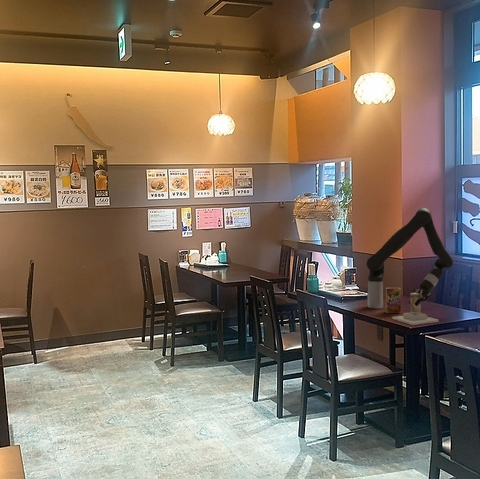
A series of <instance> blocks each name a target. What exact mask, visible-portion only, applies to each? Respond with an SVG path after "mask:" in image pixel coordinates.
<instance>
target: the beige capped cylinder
mask: <svg viewBox="0 0 480 479" xmlns="http://www.w3.org/2000/svg"><path fill="white" fill-rule="evenodd" d="M409 294H410V295H409V299H410V300H409V301H410V304H409V305H410V306H409V307H410V308H409V313H410V312H419V313H422V312H421V311H422V309H421V303H422V302H420V303H419V305H418V306H415V304H414V303H415V302H416V301H417V300H418V298H419V297H420V294H419V293H412V292H411V293H409Z"/></svg>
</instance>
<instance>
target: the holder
mask: <svg viewBox="0 0 480 479" xmlns="http://www.w3.org/2000/svg"><path fill="white" fill-rule="evenodd" d="M391 319H392V320H394V321H398V322H400V323H405V324H407V325H411V326H418V325H425V324H432V323H439V319H437V318H433V317H430V316H428V315H427V314H426V313H422V312H421V313H419V312H410V311H409V312H404V313H403V315H398V316H397V315H396V316H392V317H391Z"/></svg>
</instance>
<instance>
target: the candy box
mask: <svg viewBox="0 0 480 479" xmlns="http://www.w3.org/2000/svg"><path fill="white" fill-rule="evenodd" d="M401 299H402V288H401V287H385V309H384V310H385V314H386V313H387V314H389V313H390V314H401V313H402V312H401V311H402V306H401V305H402V300H401Z"/></svg>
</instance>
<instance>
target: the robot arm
mask: <svg viewBox="0 0 480 479" xmlns="http://www.w3.org/2000/svg"><path fill="white" fill-rule="evenodd" d="M422 228H423V230H424V232H425V235H426V238H427V241H428V243H429V246H430V248H431V251H432V253H433V255H435V256H437V257H438V258H437V259H436V260H435V262H434V264H433V266H432V268H431V270H430V271H429V272H428V273H427V275H426V276H425V277H424V278H423V279H422V280H421V282H420V284H419V287H418V288H417V289H415V288H413V290H412V292H411V293H419V294H420V297H419V298H418V300H417V301H416V302H415V303H414V304H415V306H418V305H419V303H420V302H421V303H422V302H425V301H427V300H428V299H429V298H430V297H431V296H432V294H431V292H432V291H433V289H434V288H435V287H436V285H437V284H438V282H439V281H440V279H441V278H442V277H443V275H444V273H443V270H444V269H450V268H452V267H453V264H454V261H453V258H452V257H451V255H450V254H449V252H448V251H447V250H446V249H445V246H444V244H443V241H442V239H441V238H440V235H439V233H438V232H437V229H436V227H435V223H434V221H433V217H432V212H431V211H430V210H429V209H428V208H426V207H421V208H419V209H418V210H417V211H416V212H415V214H414V216H412V218H411V219H410V220H409V221H408V222H407V223H406V224H405V225H403V226H402V227H401V228H399V229H398V230H396V232H394V234H392V235H391V236H390V237H389V239H387V241H386V242H385V243H384V244H383V246H381V248H380V249H378V250H377V251H376V252H375V253H374V254H373V255H371V256H369V258H368V259H367V261H366V267H367V269H368V270H369V274H368V277H367V295H366V296H367V307H368V308H369V309H383V308H384V285H383V284H384V275H385V273H384V272H385V262H386V260H388V258H390V257H391V256H393V255H395V253H397V252H398V251H400V250H402V248H403V247H404V246H405V245H406V244H407V243H408V242H409V241H410V240H411V239H412V238H413V237H414V235H415V234H416V233H417V232H418V231H419V230H421V229H422ZM408 304H409V305H410V300H409V301H408Z"/></svg>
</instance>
